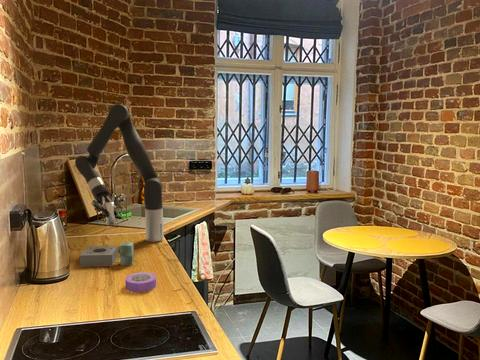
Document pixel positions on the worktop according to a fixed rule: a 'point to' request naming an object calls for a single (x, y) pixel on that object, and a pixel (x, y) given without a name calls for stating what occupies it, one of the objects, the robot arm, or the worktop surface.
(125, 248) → the square peg
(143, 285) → the masking tape
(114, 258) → the socket block
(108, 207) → the steel peg
